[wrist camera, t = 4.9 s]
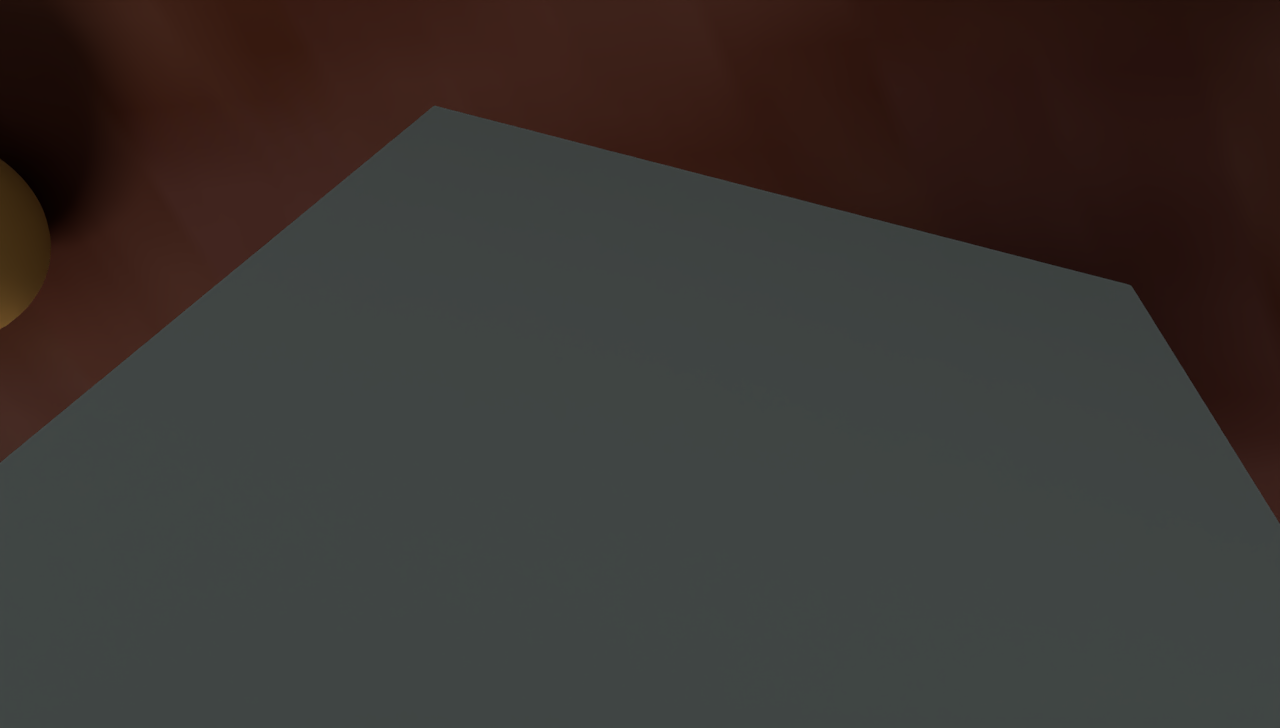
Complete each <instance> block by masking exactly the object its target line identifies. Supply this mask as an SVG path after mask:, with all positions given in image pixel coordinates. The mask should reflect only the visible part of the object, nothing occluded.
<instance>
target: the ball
mask: <svg viewBox="0 0 1280 728" xmlns="http://www.w3.org/2000/svg"><path fill="white" fill-rule="evenodd" d="M50 253H51V239H50V232H49V228H48V223H47V219H46V217H45V214H44V211H43V209H42V207H41V205H40V202H39V201H38V199H37V197H36V196H35V194H34V193H33V191H32V190H31V188H30V187H29V186H28V184H27V183H26V182H25V181H24V180H23V179H22V177H21V176H20V175H19V174H18V173H17V172H16V171H15V170H14V169H12V168H11V167H10V166H9V165H8V164H6V163H5V162H4V161H2V160H1V159H0V329H1V328H3V327H4V326H6V325H8V324H9V323H10V322H12V321H13V320H14V319H15V318H17V317H18V316H19V315H20V314H21V313H22V312H23V311H24V310H25V309H26V308H27V307H28V306H29V305H30V303H31V302H32V301H33V299H34V298H35V297H36V295H37V293H38V292H39V290H40V288H41V287H42V284H43V282H44V280H45V277H46V274H47V271H48V267H49V263H50Z"/></svg>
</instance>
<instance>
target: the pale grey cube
mask: <svg viewBox="0 0 1280 728" xmlns="http://www.w3.org/2000/svg"><path fill="white" fill-rule="evenodd" d="M0 728H1280V524H1279V522H1278V520H1277V519H1276V517H1275V516H1274V514H1273V512H1272V511H1271V509H1270V508H1269V506H1268V504H1267V503H1266V501H1265V500H1264V498H1263V496H1262V495H1261V493H1260V492H1259V490H1258V488H1257V487H1256V485H1255V483H1254V482H1253V480H1252V479H1251V477H1250V475H1249V474H1248V472H1247V471H1246V469H1245V467H1244V466H1243V464H1242V463H1241V461H1240V459H1239V458H1238V456H1237V455H1236V453H1235V451H1234V450H1233V448H1232V447H1231V445H1230V443H1229V442H1228V440H1227V438H1226V437H1225V435H1224V434H1223V432H1222V430H1221V429H1220V427H1219V426H1218V424H1217V422H1216V421H1215V419H1214V418H1213V416H1212V414H1211V413H1210V411H1209V410H1208V408H1207V406H1206V405H1205V403H1204V402H1203V400H1202V398H1201V397H1200V395H1199V393H1198V392H1197V390H1196V389H1195V387H1194V385H1193V384H1192V382H1191V381H1190V379H1189V377H1188V376H1187V374H1186V373H1185V371H1184V369H1183V368H1182V366H1181V365H1180V363H1179V361H1178V360H1177V358H1176V357H1175V355H1174V353H1173V352H1172V350H1171V349H1170V347H1169V345H1168V344H1167V342H1166V340H1165V339H1164V337H1163V336H1162V334H1161V332H1160V331H1159V329H1158V328H1157V326H1156V324H1155V323H1154V321H1153V320H1152V318H1151V316H1150V315H1149V313H1148V312H1147V310H1146V308H1145V307H1144V305H1143V304H1142V302H1141V300H1140V299H1139V297H1138V295H1137V294H1136V292H1135V291H1134V289H1133V287H1132V286H1131V285H1128V284H1124V283H1120V282H1116V281H1112V280H1109V279H1105V278H1101V277H1097V276H1093V275H1089V274H1085V273H1081V272H1078V271H1074V270H1070V269H1066V268H1062V267H1058V266H1054V265H1050V264H1047V263H1043V262H1039V261H1035V260H1031V259H1027V258H1023V257H1019V256H1016V255H1012V254H1008V253H1004V252H1000V251H996V250H992V249H988V248H984V247H981V246H977V245H973V244H969V243H965V242H961V241H957V240H953V239H950V238H946V237H942V236H938V235H934V234H930V233H926V232H922V231H919V230H915V229H911V228H907V227H903V226H899V225H895V224H891V223H887V222H884V221H880V220H876V219H872V218H868V217H864V216H860V215H856V214H853V213H849V212H845V211H841V210H837V209H833V208H829V207H825V206H822V205H818V204H814V203H810V202H806V201H802V200H798V199H794V198H791V197H787V196H783V195H779V194H775V193H771V192H767V191H763V190H759V189H756V188H752V187H748V186H744V185H740V184H736V183H732V182H728V181H725V180H721V179H717V178H713V177H709V176H705V175H701V174H697V173H694V172H690V171H686V170H682V169H678V168H674V167H670V166H666V165H662V164H659V163H655V162H651V161H647V160H643V159H639V158H635V157H631V156H628V155H624V154H620V153H616V152H612V151H608V150H604V149H600V148H597V147H593V146H589V145H585V144H581V143H577V142H573V141H569V140H566V139H562V138H558V137H554V136H550V135H546V134H542V133H538V132H534V131H531V130H527V129H523V128H519V127H515V126H511V125H507V124H503V123H500V122H496V121H492V120H488V119H484V118H480V117H476V116H472V115H469V114H465V113H461V112H457V111H453V110H449V109H445V108H441V107H437V106H433V107H432V108H431V109H430V110H428V111H427V112H426V113H425V114H424V115H422V116H421V117H420V118H419V119H417V120H416V121H415V122H414V123H413V124H411V125H410V126H409V127H408V128H407V129H405V130H404V131H403V132H402V133H400V134H399V135H398V136H397V137H396V138H394V139H393V140H392V141H391V142H389V143H388V144H387V145H386V146H385V147H383V148H382V149H381V150H380V151H379V152H377V153H376V154H375V155H374V156H372V157H371V158H370V159H369V160H368V161H366V162H365V163H364V164H363V165H362V166H360V167H359V168H358V169H357V170H355V171H354V172H353V173H352V174H351V175H349V176H348V177H347V178H346V179H345V180H343V181H342V182H341V183H340V184H338V185H337V186H336V187H335V188H334V189H332V190H331V191H330V192H329V193H328V194H326V195H325V196H324V197H323V198H321V199H320V200H319V201H318V202H317V203H315V204H314V205H313V206H312V207H310V208H309V209H308V210H307V211H306V212H304V213H303V214H302V215H301V216H300V217H298V218H297V219H296V220H295V221H293V222H292V223H291V224H290V225H289V226H287V227H286V228H285V229H284V230H283V231H281V232H280V233H279V234H278V235H276V236H275V237H274V238H273V239H272V240H270V241H269V242H268V243H267V244H266V245H264V246H263V247H262V248H261V249H259V250H258V251H257V252H256V253H255V254H253V255H252V256H251V257H250V258H249V259H247V260H246V261H245V262H244V263H242V264H241V265H240V266H239V267H238V268H236V269H235V270H234V271H233V272H231V273H230V274H229V275H228V276H227V277H225V278H224V279H223V280H222V281H221V282H219V283H218V284H217V285H216V286H214V287H213V288H212V289H211V290H210V291H208V292H207V293H206V294H205V295H204V296H202V297H201V298H200V299H199V300H197V301H196V302H195V303H194V304H193V305H191V306H190V307H189V308H188V309H187V310H185V311H184V312H183V313H182V314H180V315H179V316H178V317H177V318H176V319H174V320H173V321H172V322H171V323H170V324H168V325H167V326H166V327H165V328H163V329H162V330H161V331H160V332H159V333H157V334H156V335H155V336H154V337H152V338H151V339H150V340H149V341H148V342H146V343H145V344H144V345H143V346H142V347H140V348H139V349H138V350H137V351H135V352H134V353H133V354H132V355H131V356H129V357H128V358H127V359H126V360H125V361H123V362H122V363H121V364H120V365H118V366H117V367H116V368H115V369H114V370H112V371H111V372H110V373H109V374H108V375H106V376H105V377H104V378H103V379H101V380H100V381H99V382H98V383H97V384H95V385H94V386H93V387H92V388H91V389H89V390H88V391H87V392H86V393H84V394H83V395H82V396H81V397H80V398H78V399H77V400H76V401H75V402H73V403H72V404H71V405H70V406H69V407H67V408H66V409H65V410H64V411H63V412H61V413H60V414H59V415H58V416H56V417H55V418H54V419H53V420H52V421H50V422H49V423H48V424H47V425H46V426H44V427H43V428H42V429H41V430H39V431H38V432H37V433H36V434H35V435H33V436H32V437H31V438H30V439H29V440H27V441H26V442H25V443H24V444H22V445H21V446H20V447H19V448H18V449H16V450H15V451H14V452H13V453H12V454H10V455H9V456H8V457H7V458H5V459H4V460H3V461H2V462H1V463H0Z"/></svg>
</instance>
